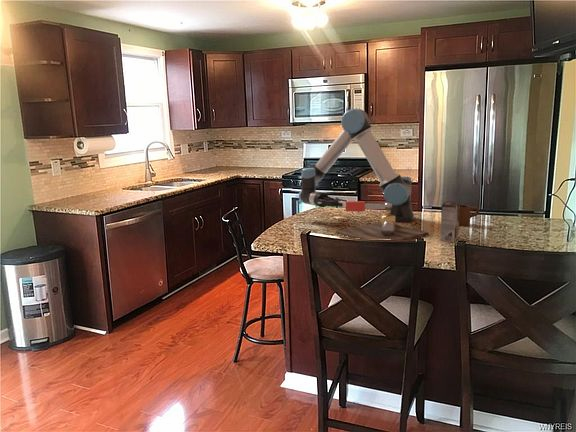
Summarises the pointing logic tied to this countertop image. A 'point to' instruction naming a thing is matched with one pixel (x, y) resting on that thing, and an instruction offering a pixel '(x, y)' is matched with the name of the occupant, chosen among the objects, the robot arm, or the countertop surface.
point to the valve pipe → (388, 224)
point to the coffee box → (450, 221)
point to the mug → (466, 214)
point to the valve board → (375, 232)
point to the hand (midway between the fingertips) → (347, 205)
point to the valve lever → (365, 206)
